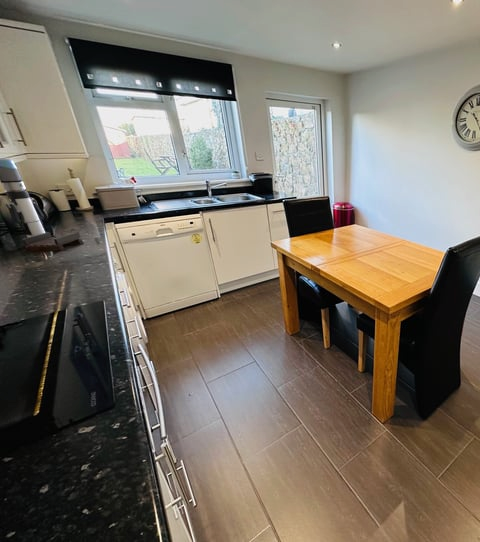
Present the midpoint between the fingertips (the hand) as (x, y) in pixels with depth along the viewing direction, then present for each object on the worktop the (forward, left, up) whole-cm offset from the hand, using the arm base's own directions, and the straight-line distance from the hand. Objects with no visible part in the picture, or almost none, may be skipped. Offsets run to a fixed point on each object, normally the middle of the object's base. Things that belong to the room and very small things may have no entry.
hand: (35, 232), depth 156 cm
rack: (+16, -9, -6) cm, 19 cm away
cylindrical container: (0, 0, -6) cm, 6 cm away
